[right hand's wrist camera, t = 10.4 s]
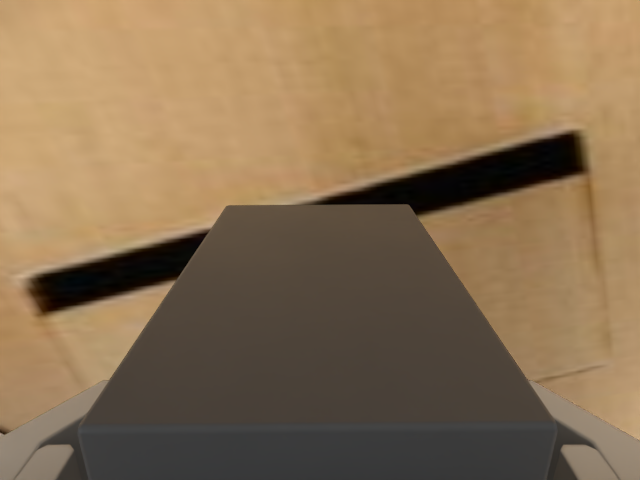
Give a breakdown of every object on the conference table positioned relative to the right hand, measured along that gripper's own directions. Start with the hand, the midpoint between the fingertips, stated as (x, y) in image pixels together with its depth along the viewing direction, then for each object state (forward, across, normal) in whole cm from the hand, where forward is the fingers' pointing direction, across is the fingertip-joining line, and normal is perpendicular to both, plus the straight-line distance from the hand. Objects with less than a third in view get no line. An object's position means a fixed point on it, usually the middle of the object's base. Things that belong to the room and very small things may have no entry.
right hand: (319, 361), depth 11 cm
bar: (+3, 0, -8) cm, 9 cm away
